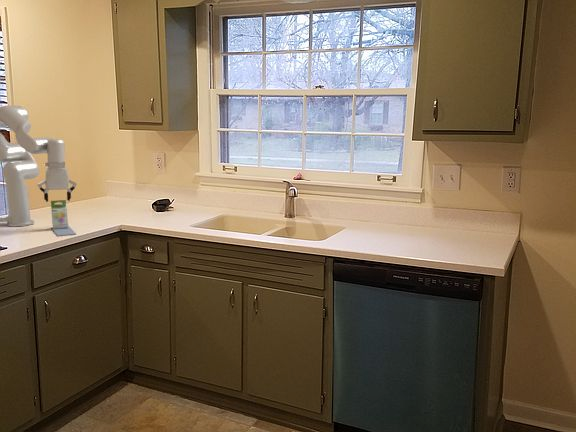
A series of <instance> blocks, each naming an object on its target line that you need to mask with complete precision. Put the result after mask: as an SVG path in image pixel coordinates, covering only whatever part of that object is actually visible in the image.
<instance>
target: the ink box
mask: <svg viewBox="0 0 576 432" xmlns="http://www.w3.org/2000/svg"><path fill="white" fill-rule="evenodd" d="M56 203H59V204H56ZM50 208H51V210H50V211H51V219H52V220H51V222H52V227H53V229H63V228H68V226H69V221H68V220H69V219H68V208H67V199H61V200H60V199H59V200H57V199H56V200H50Z"/></svg>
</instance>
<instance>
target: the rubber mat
mask: <svg viewBox="0 0 576 432" xmlns="http://www.w3.org/2000/svg"><path fill="white" fill-rule="evenodd" d="M50 229H51V230H52V231H53V233H54V234H55V235H56V236H57V237H65V236H75V235H77V233H76V231H74V230H73V228H71V227H70V226H69V225H68V228H63V229H53V226H52V227H50Z"/></svg>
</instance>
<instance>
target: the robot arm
mask: <svg viewBox="0 0 576 432" xmlns="http://www.w3.org/2000/svg"><path fill="white" fill-rule="evenodd" d="M1 127H3V128H4V127H7V128H8V129H9V130H11V131H12V132H14V133H15V140H16V142H10V141H8V140H7V139H6V137H5V136H4V134H2V133H1V132H0V163H3V164H4V165H3V167H2V175H3V179H4V181H5V187H6V195H7V197H6V198H7V207H8V208H7V209H8V215H7V216H6V217H0V223H1V222H2V223H5V225H6V226H7V227H13V228H14V227H26V226H32V225H34V224H35V221H34V220H33V219H31V209H30V197H29V187H28V186H27V184H26V182H25V180H31V179H35V178H37V177H38V176H39V175H40V167H39V164H38V163H37V161H36V160H35V158H34V157H33V155H41V154H47V162H44V167H47V168H46V170H45V180H43V181H40V182H39V183H37V184H36V186H38V189H39V190H40V191H41V192H43V199H44V200H45V202H47V203H48V202H49V193H48V192H49V191H50V190H51V191H55V190H57V191H58V190H66V191H67V192H66V201H69V202H70V200H71V199H72V192H73V191H74V190H75V188H76V186H77V182H75V181H72V180H70V178H69V172H68V168H67V167H66V154H65V151H66V149H65V140H64V139H61V138H53V137H48V136H47V137H32V136H31V135H30V134H29V132H30V131H31V128H32V124H31V121H29V113H28V111H27V109H26V108H25V107H24V106H21V105H2V106H0V128H1ZM43 185H45V188H43ZM70 185H71V186H70Z"/></svg>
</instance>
